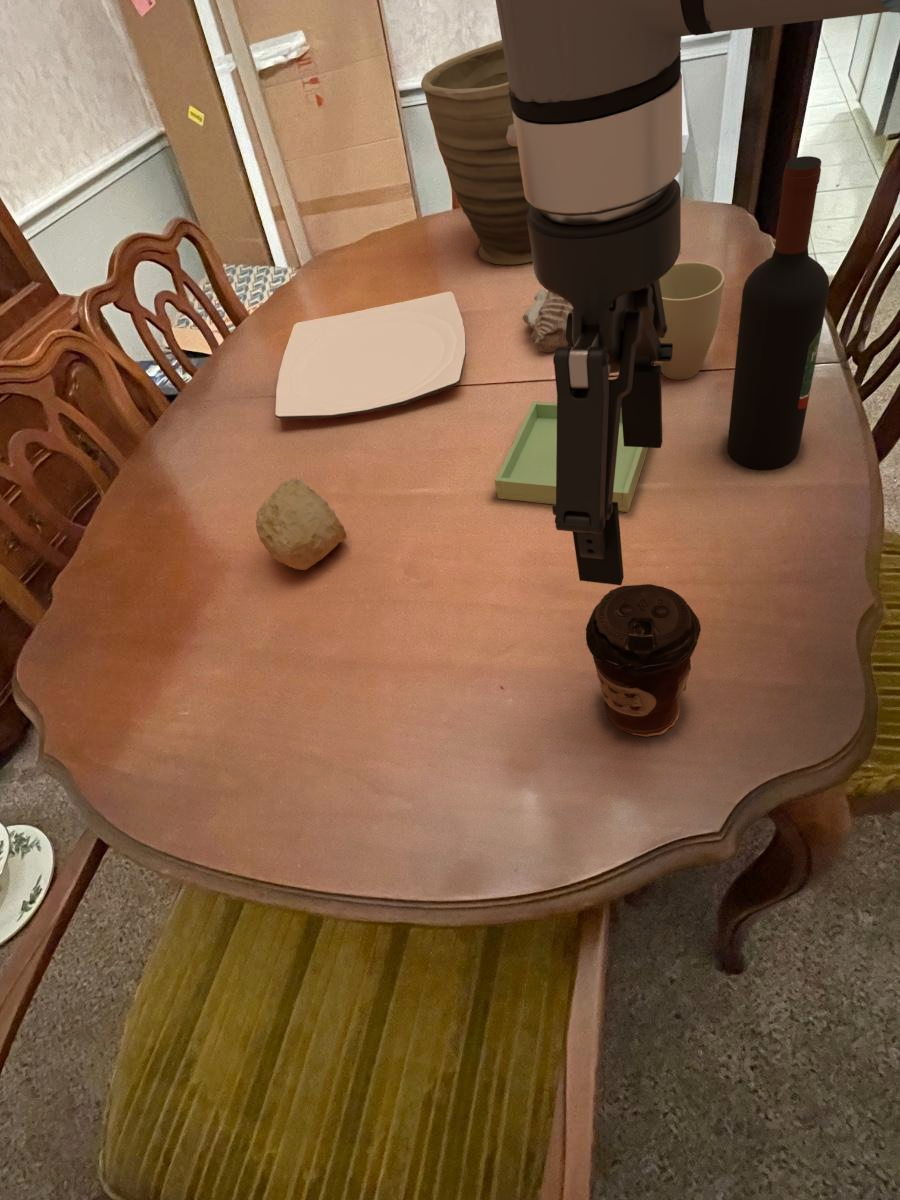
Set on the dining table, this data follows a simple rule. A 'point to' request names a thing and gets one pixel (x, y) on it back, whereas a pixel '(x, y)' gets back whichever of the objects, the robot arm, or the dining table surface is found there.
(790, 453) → the wine bottle
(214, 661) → the dining table surface
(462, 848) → the dining table surface
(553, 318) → the seashell
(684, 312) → the mug
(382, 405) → the plate
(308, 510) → the tan rock
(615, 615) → the coffee cup
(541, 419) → the tray
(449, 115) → the vase
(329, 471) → the dining table surface
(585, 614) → the dining table surface
